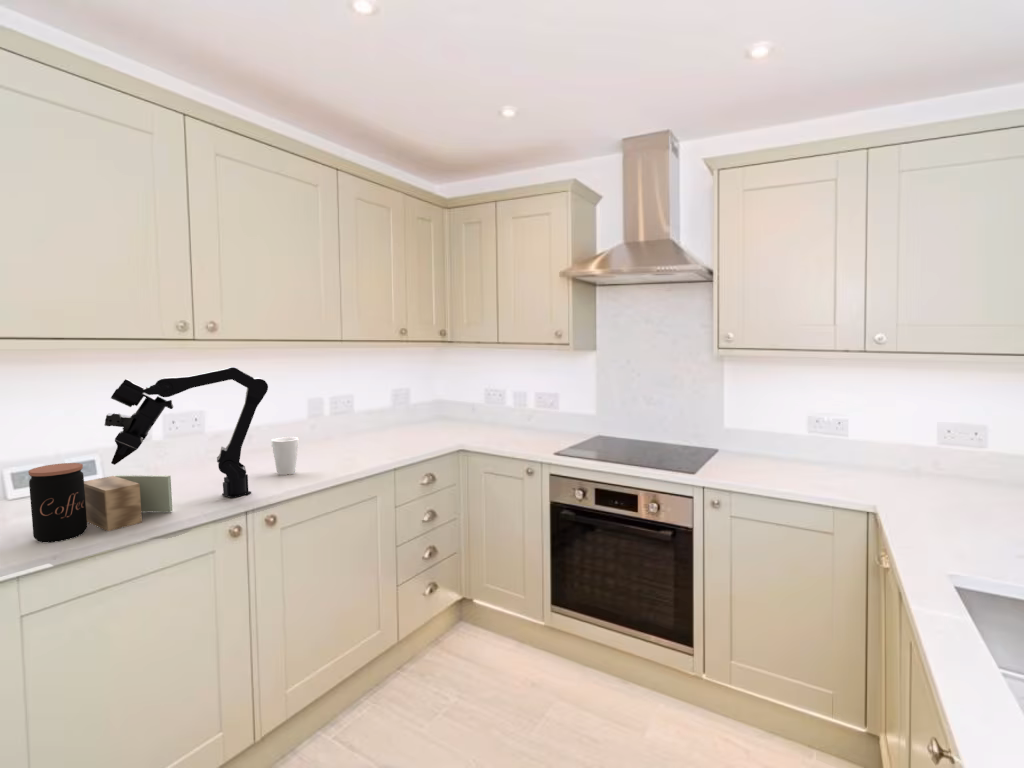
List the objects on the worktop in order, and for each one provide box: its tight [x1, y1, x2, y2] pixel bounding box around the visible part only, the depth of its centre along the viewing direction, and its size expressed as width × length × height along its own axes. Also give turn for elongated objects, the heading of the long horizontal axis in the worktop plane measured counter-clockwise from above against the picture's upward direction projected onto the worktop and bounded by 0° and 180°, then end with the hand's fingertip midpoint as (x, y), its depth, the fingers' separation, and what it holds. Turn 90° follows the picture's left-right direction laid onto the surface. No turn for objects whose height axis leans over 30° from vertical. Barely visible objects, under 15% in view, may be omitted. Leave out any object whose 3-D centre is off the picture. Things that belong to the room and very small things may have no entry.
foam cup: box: [271, 436, 300, 476], centre depth 200 cm, size 10×9×13 cm
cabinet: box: [84, 475, 143, 532], centre depth 147 cm, size 8×16×11 cm, turn 58°
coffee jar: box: [27, 462, 88, 543], centre depth 136 cm, size 11×11×18 cm
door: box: [115, 474, 173, 513], centre depth 155 cm, size 2×16×11 cm, turn 88°
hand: (115, 460), depth 156 cm, fingers open, 9 cm apart
